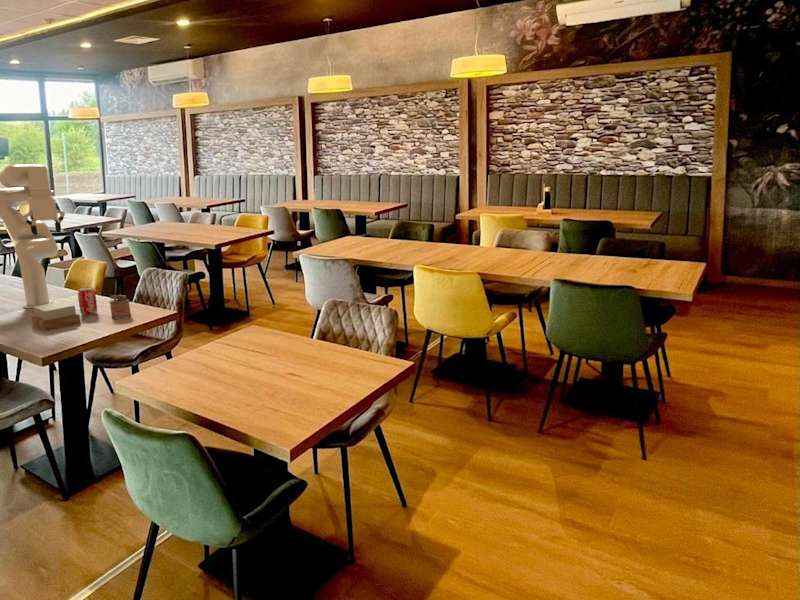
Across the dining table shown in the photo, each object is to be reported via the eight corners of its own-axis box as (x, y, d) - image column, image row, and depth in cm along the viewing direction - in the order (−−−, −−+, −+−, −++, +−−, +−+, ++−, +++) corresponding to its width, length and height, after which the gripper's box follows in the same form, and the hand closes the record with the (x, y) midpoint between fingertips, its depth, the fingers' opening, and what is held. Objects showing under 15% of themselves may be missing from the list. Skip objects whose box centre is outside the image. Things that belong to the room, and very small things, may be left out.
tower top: (34, 315, 270) (33, 306, 269) (64, 310, 279) (62, 301, 278) (46, 320, 262) (44, 311, 261) (75, 314, 271) (74, 305, 270)
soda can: (101, 312, 289) (97, 286, 286) (92, 316, 282) (88, 290, 280) (86, 312, 290) (82, 286, 287) (77, 316, 283) (73, 290, 280)
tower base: (32, 325, 271) (31, 316, 270) (66, 317, 281) (65, 309, 280) (46, 331, 262) (44, 321, 261) (80, 323, 272) (79, 314, 271)
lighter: (131, 315, 284) (129, 293, 281) (130, 317, 280) (127, 295, 278) (112, 316, 282) (109, 294, 279) (111, 318, 279) (108, 296, 276)
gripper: (57, 192, 284) (63, 230, 288) (15, 195, 271) (22, 235, 276) (65, 193, 280) (70, 231, 284) (22, 196, 267) (29, 236, 271)
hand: (46, 233), depth 280 cm, fingers open, 9 cm apart
